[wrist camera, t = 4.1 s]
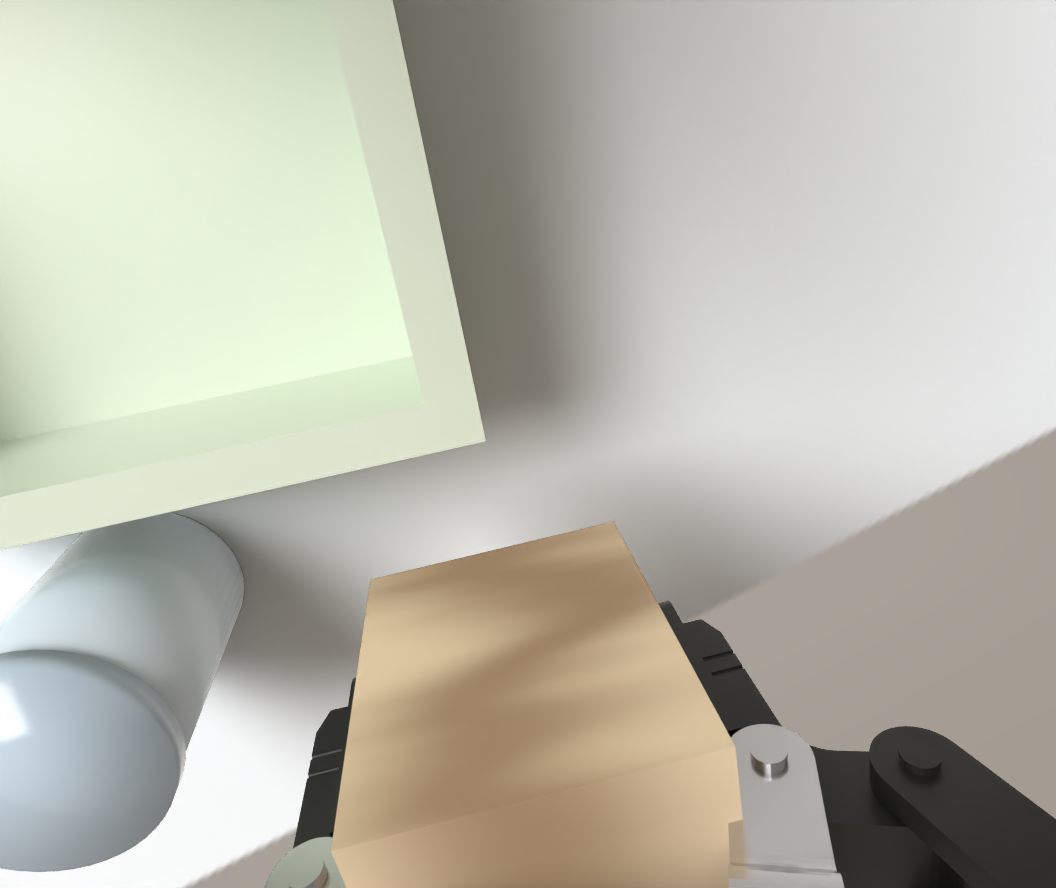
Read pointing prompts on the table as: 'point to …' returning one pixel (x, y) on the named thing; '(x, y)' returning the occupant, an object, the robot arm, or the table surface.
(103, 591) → the ceramic jar
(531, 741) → the oak block
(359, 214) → the crate
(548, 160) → the table surface
